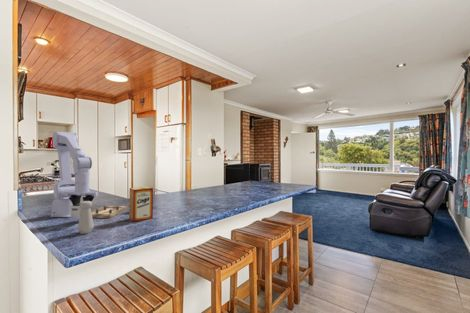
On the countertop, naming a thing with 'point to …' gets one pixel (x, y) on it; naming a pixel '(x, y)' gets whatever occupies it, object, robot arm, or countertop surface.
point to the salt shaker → (85, 218)
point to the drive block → (76, 210)
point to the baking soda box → (141, 203)
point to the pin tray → (108, 211)
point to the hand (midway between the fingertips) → (81, 210)
